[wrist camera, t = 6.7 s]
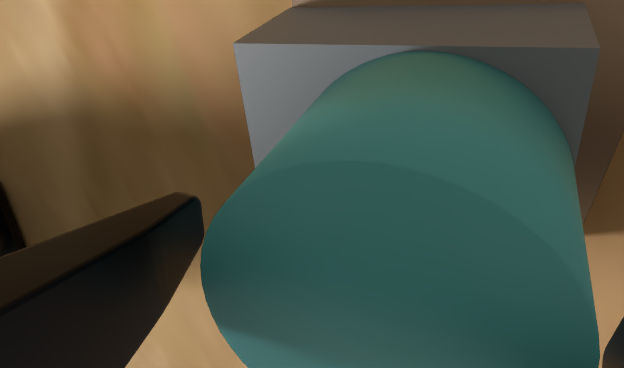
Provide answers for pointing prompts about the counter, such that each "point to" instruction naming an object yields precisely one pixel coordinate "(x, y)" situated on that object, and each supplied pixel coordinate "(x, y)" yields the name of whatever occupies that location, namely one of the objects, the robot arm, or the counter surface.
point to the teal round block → (408, 230)
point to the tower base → (604, 94)
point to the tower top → (407, 38)
